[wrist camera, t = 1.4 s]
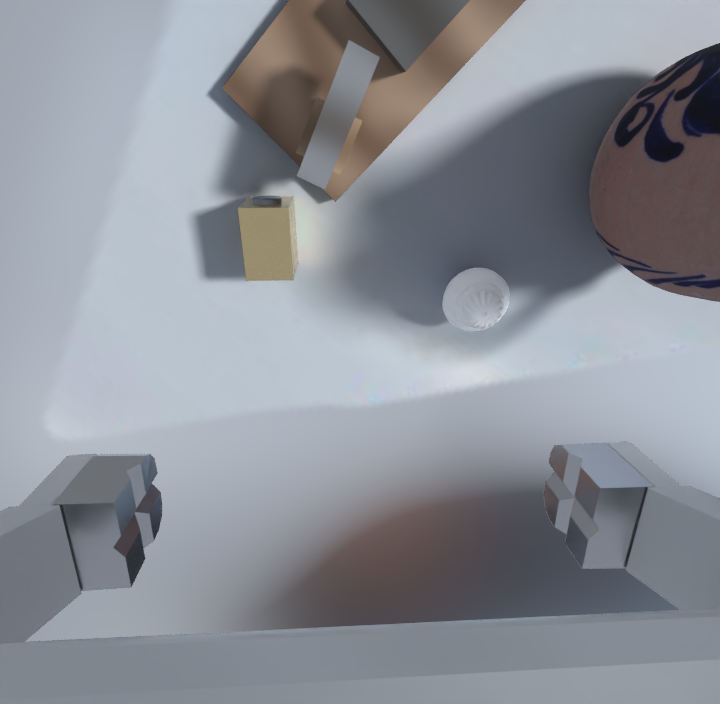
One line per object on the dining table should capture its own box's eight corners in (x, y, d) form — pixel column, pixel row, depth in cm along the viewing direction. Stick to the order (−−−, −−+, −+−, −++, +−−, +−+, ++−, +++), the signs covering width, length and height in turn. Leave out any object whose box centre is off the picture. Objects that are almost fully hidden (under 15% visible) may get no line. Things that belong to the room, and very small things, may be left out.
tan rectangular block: (248, 193, 41) (237, 204, 37) (293, 193, 41) (288, 203, 37) (255, 265, 44) (246, 284, 40) (298, 265, 44) (293, 283, 40)
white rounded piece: (491, 247, 44) (516, 271, 38) (503, 304, 47) (528, 334, 41) (428, 269, 45) (442, 296, 39) (443, 323, 48) (459, 356, 42)
